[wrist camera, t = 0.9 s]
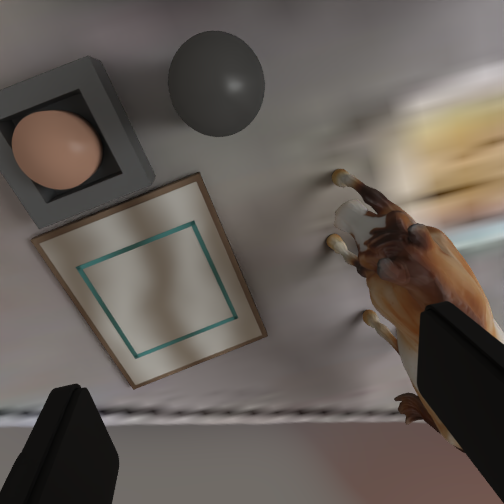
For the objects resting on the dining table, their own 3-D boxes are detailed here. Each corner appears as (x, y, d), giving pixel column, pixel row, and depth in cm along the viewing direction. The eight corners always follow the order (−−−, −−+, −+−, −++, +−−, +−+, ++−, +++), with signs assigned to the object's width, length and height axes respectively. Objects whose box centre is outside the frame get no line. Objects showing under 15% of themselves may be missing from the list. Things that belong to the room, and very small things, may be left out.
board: (199, 171, 30) (199, 173, 29) (266, 331, 38) (268, 337, 37) (34, 237, 30) (29, 241, 29) (134, 384, 38) (133, 390, 37)
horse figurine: (263, 161, 31) (375, 255, 12) (343, 115, 30) (587, 139, 12) (379, 386, 44) (521, 601, 25) (436, 356, 43) (624, 552, 24)
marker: (223, 49, 27) (245, 15, 16) (244, 110, 29) (276, 117, 18) (167, 71, 27) (151, 52, 16) (191, 131, 29) (192, 150, 18)
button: (80, 98, 25) (68, 98, 22) (115, 167, 27) (108, 173, 24) (12, 125, 25) (-6, 128, 22) (53, 191, 27) (40, 200, 24)
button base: (100, 61, 26) (88, 55, 23) (155, 176, 30) (151, 185, 27) (-15, 106, 26) (-43, 107, 23) (55, 215, 30) (39, 229, 27)
